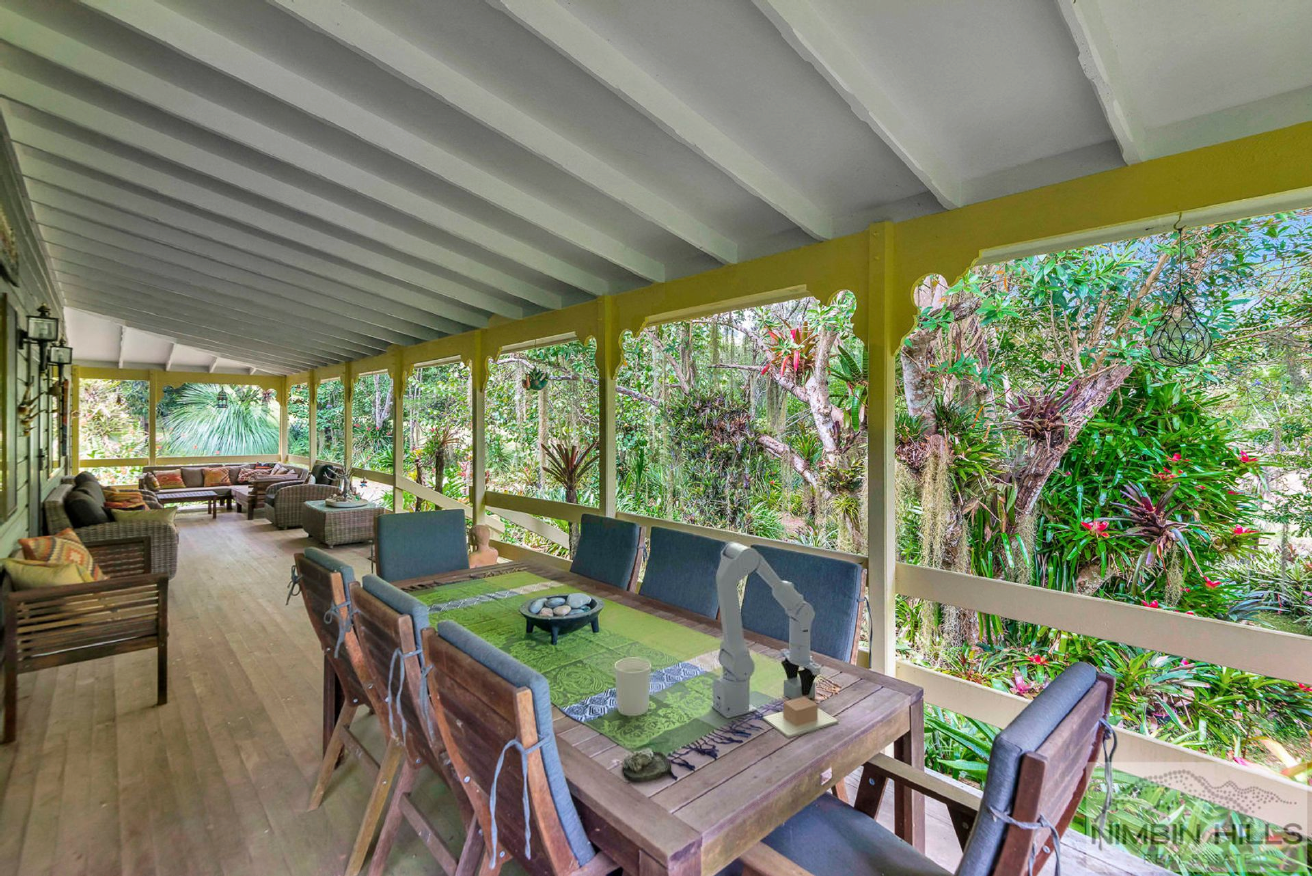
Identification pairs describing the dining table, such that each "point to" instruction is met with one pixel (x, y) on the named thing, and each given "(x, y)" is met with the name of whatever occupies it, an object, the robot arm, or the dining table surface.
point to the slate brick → (796, 688)
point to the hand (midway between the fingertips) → (799, 690)
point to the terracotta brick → (800, 711)
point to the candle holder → (632, 685)
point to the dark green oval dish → (645, 766)
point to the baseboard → (793, 730)
